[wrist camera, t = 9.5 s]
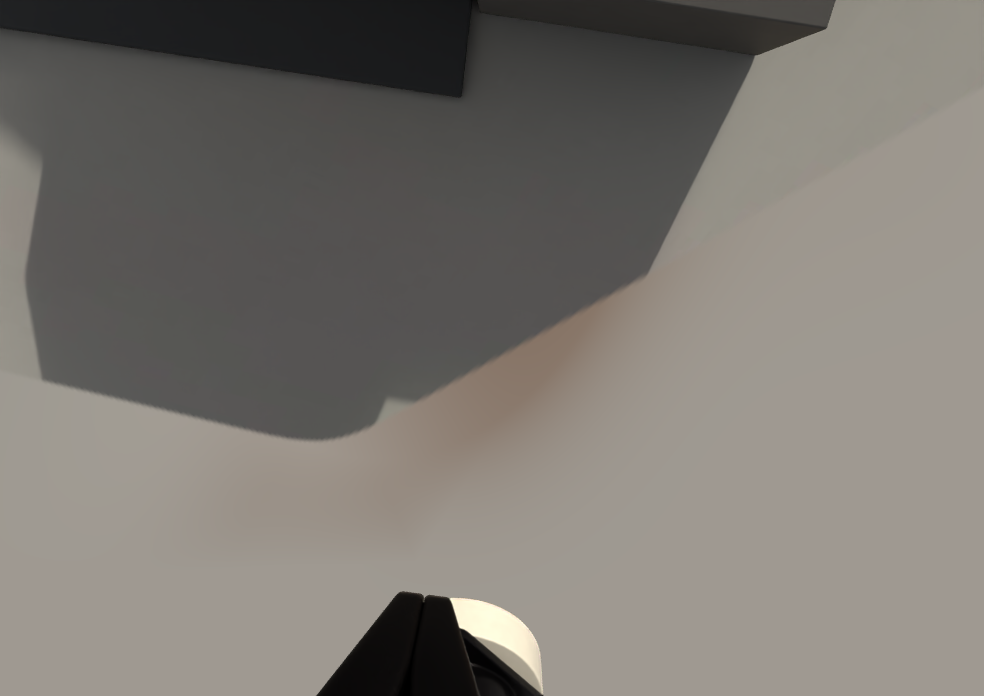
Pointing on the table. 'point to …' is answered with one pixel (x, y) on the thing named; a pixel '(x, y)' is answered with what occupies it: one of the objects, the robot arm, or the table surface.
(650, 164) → the table surface
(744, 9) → the stand
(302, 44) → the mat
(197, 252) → the table surface
